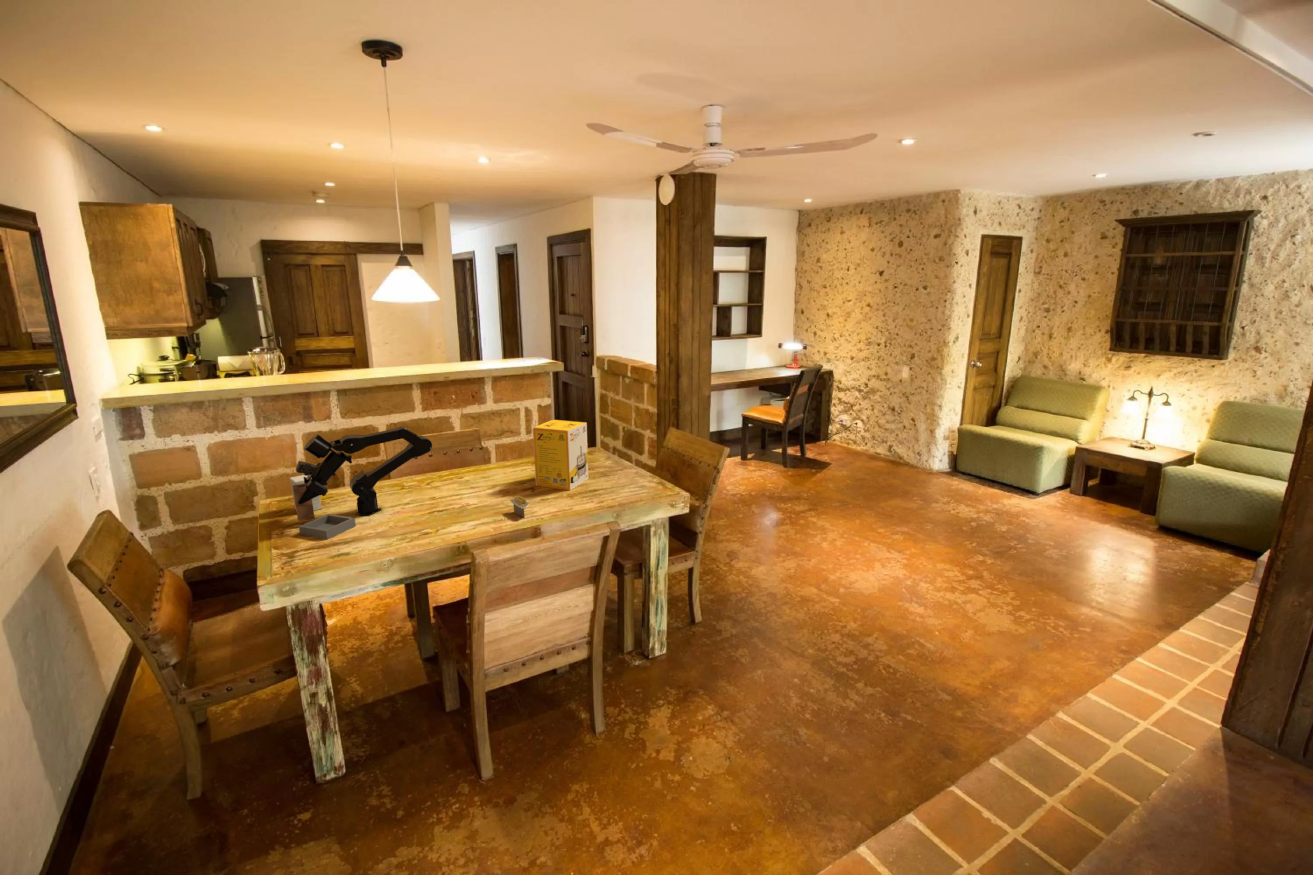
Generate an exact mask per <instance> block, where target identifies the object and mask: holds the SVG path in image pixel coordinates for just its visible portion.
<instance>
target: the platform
mask: <svg viewBox="0 0 1313 875" xmlns="http://www.w3.org/2000/svg"><path fill="white" fill-rule="evenodd" d="M509 502H510V503H511V504H513V512H514V513H515V514H517V515H519V516H521V517H522V518H524V519H525V509H527V508H528V507H529V506H530V503H529V502H527V500H526V498H524V497H522V496H520V495H515V496H514V498H512V499H509Z"/></svg>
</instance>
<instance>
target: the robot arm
mask: <svg viewBox="0 0 1313 875" xmlns="http://www.w3.org/2000/svg"><path fill="white" fill-rule="evenodd" d="M399 440H403V441H406V442H407V443H408V444H407V445H406V447H404V449H403V450H401V451H400V452H398V453H396V454H395V455H393V456H392V457H390V458H388V460H386V461H384V462H383V463H381V464H380V465H378V466H377V467H374V469H372V470H371V471H370V470H369V471H367V472H365V470H363V469H362V470H360V471H359V472H358V473H357V474H355V475H354V474H353V475H352V478H351V479H350V480H349V483H348V484H349V488H350V490H351V492H352V493H353V495H355V496H358V497H356V507H357V508H356V509H357V511H355V515H360V516H361V515H362V516H371V515H374V514H376V513H378V512H380V511H382V508H381V507H379V504H378V496H377V491H376V490H375V489H374V487H375V486H376V484H377V483H378V482H380V480H381V479H384V478H385V477H386V476H388V475H389V474H391V473H392V472H394V471H395V470H397V469H398V468H400V467H401V466H403V465H405V464H406V463H408V462H409V461H410V460H412V459H415V458H419V457H422V456H424V455H426V454H428V453H429V452H430V451H431V450H432V448H433V442H432V441H431V440H430V439H429V438H428V437H426V436H425V435H418V434H417V433H414V432H412V431H411V430H409V429H408V428H407V427H404V426H400V427H396V428H392V429H391V428H390V429H387V430H382V431H376V432H373V433H368V434H345V435H343V436H341V437H340V438H338V439H334V440H331V441H328V440H327V439H325V438H324V437H323V436H322V435H321V434H319V433H317V434H316V435H315V436H313V437H312V438H311V439H309V440H308V441H307V443H306V444H305V445H304V446H303V450H304V451H306V452H307V453H309V454H311V455H312V456H314V457H316V458H317V459H320V458H321V459H323V460H322V461H320V462H317V463H316V464H315V463H312V462H306V461H301V460H298V461H297V465H296V467H295V472H296V473H298V474H303V475H305V476H306V475H307V477H303V478H304V483H308V484H306V490H305V492H304V493H303V495H302V497H301V498H300V500H299V502H298V503H299V504H303V503H305V502H307V501H309V500H311V499H313V498H315V497H317V496H319V495H320V496H322V497H325V496H326V495H327V494H328V492H329V490H328V487H327V485H328V482H329V480H331V478H332V477H335V476H336V474H337V472H338V470H339V469H341V467H342V466H343V465H344V463H345V462H347V463H349V464H352V463H353V462H352V461H353V460H352V455H351V454H355V453H358V452H360V451H362V450H365V449H366V448H368V447H371V446H375V445H380V444H385V443H390V442H394V441H399Z"/></svg>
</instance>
